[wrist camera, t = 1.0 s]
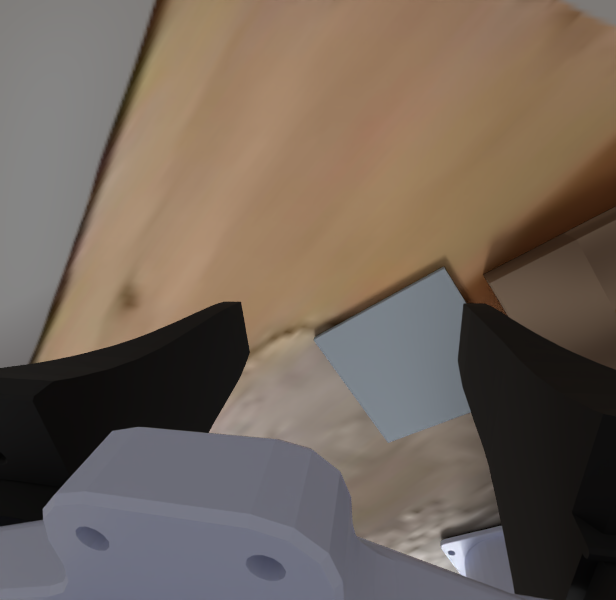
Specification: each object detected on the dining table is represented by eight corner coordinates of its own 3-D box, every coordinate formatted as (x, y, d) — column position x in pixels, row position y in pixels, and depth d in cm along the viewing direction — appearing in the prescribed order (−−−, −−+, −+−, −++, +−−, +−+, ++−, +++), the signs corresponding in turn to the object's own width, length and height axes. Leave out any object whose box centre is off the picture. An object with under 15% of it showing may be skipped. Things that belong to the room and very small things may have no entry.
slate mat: (519, 389, 22) (521, 393, 21) (388, 438, 25) (388, 442, 25) (443, 266, 20) (444, 268, 20) (314, 337, 24) (313, 339, 23)
